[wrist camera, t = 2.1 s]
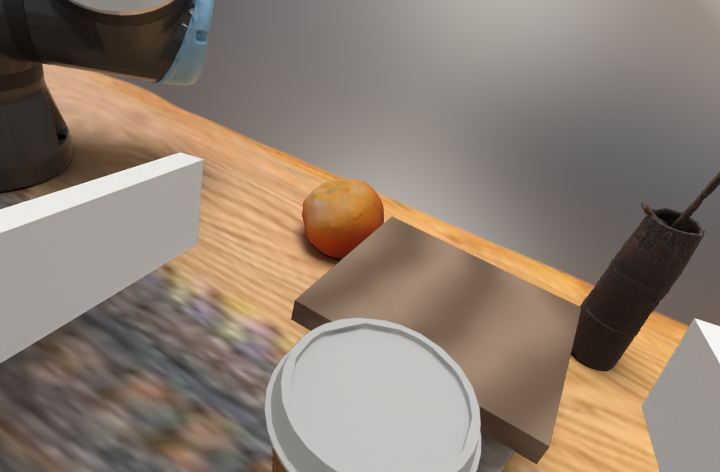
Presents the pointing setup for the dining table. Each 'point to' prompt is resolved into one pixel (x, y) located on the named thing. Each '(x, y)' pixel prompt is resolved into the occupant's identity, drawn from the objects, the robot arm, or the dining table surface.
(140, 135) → the dining table surface
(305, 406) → the disposable coffee cup
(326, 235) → the fruit
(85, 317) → the dining table surface
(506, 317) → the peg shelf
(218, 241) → the dining table surface
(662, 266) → the butter churn
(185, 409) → the dining table surface
